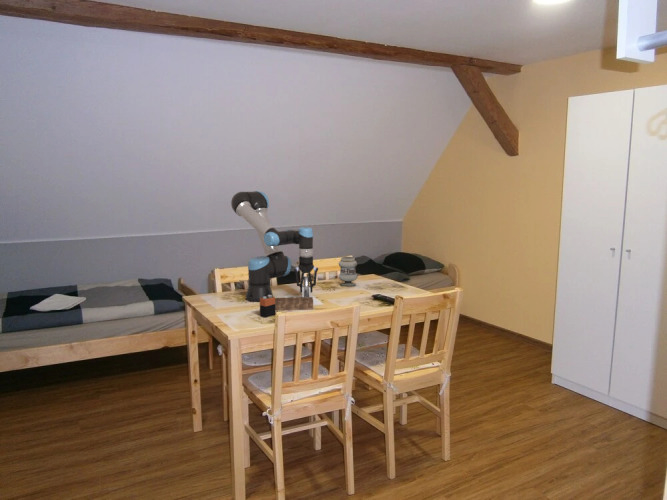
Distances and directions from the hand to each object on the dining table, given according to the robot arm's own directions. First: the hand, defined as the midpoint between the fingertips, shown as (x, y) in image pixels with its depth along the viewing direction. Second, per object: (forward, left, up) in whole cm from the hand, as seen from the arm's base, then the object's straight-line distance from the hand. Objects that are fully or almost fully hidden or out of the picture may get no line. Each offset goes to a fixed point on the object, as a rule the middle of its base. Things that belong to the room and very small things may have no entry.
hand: (306, 298), depth 272 cm
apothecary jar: (+28, +41, -2) cm, 50 cm away
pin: (0, 0, -2) cm, 2 cm away
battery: (-20, -26, -2) cm, 33 cm away
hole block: (-9, -12, -2) cm, 15 cm away
